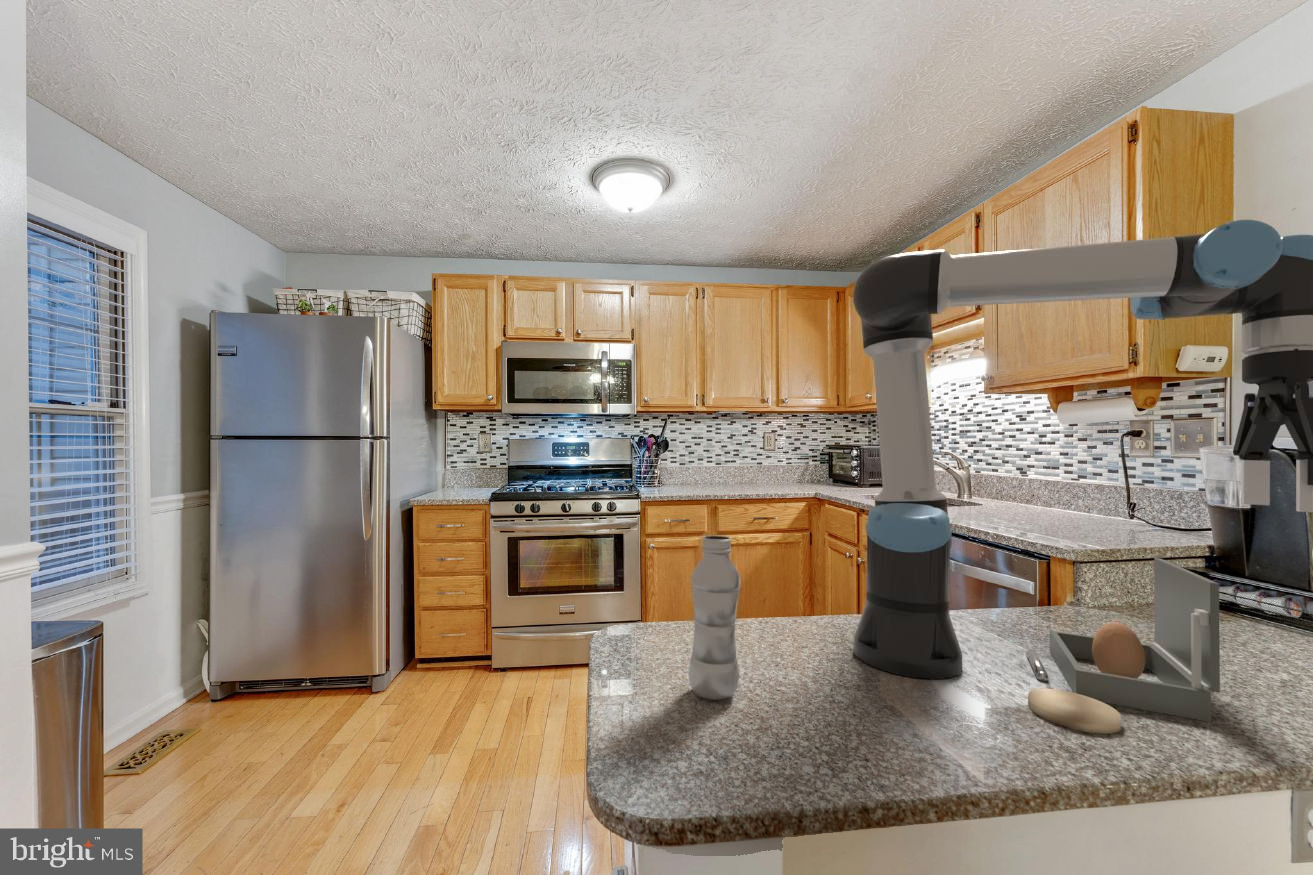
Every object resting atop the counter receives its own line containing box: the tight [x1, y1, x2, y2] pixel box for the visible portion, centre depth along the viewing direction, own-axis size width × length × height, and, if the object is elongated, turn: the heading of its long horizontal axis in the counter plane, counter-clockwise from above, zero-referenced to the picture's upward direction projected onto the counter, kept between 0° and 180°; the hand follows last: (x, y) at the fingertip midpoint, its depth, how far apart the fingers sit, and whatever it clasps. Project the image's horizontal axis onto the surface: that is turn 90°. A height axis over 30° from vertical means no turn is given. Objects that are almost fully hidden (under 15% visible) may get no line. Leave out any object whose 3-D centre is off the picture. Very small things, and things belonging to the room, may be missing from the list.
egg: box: [1092, 621, 1146, 679], centre depth 76 cm, size 6×6×8 cm
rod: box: [1025, 649, 1049, 682], centre depth 80 cm, size 1×11×1 cm, turn 152°
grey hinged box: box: [1049, 557, 1221, 723], centre depth 76 cm, size 14×19×17 cm
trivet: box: [1027, 688, 1122, 735], centre depth 65 cm, size 9×9×1 cm
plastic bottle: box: [688, 535, 741, 701], centre depth 69 cm, size 6×7×20 cm
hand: (1282, 508), depth 73 cm, fingers open, 13 cm apart
